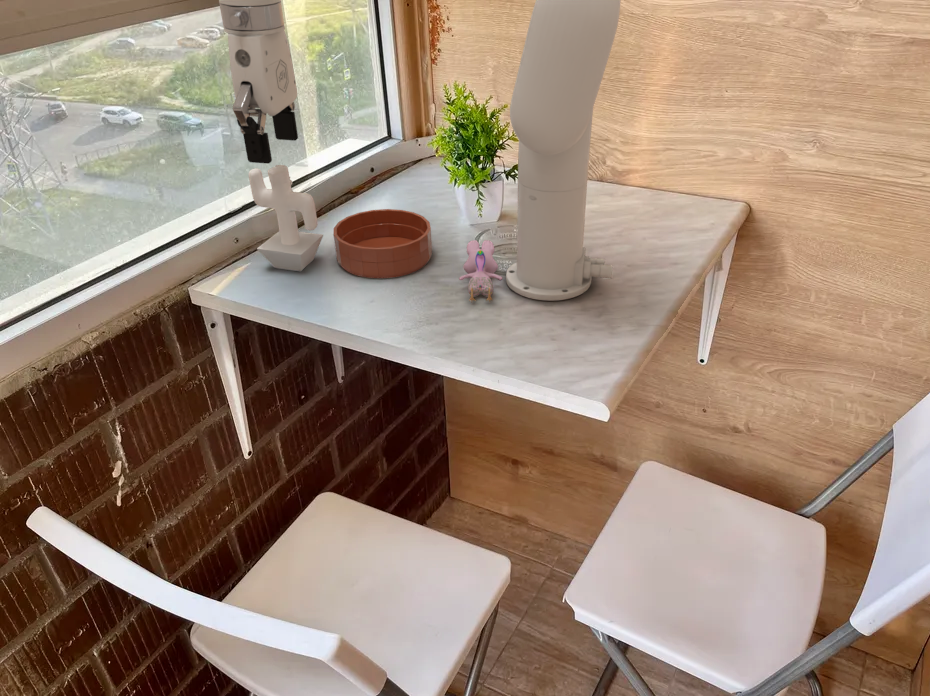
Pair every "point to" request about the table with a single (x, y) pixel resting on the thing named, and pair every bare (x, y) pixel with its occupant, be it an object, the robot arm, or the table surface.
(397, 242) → the bowl
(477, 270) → the rabbit figure
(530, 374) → the table surface
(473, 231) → the table surface
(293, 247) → the figurine
